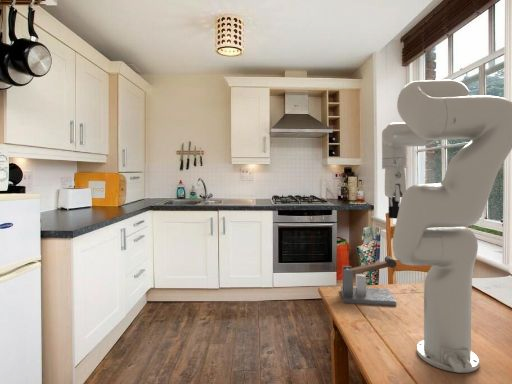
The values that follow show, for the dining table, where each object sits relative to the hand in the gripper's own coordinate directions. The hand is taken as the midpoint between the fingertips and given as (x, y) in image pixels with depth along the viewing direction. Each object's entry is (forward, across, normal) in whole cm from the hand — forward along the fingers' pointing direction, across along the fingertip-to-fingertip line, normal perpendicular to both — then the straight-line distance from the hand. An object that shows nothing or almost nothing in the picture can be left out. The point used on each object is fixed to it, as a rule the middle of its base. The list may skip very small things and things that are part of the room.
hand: (394, 217), depth 107 cm
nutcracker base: (+29, +2, +9) cm, 30 cm away
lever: (+19, +2, +7) cm, 20 cm away
